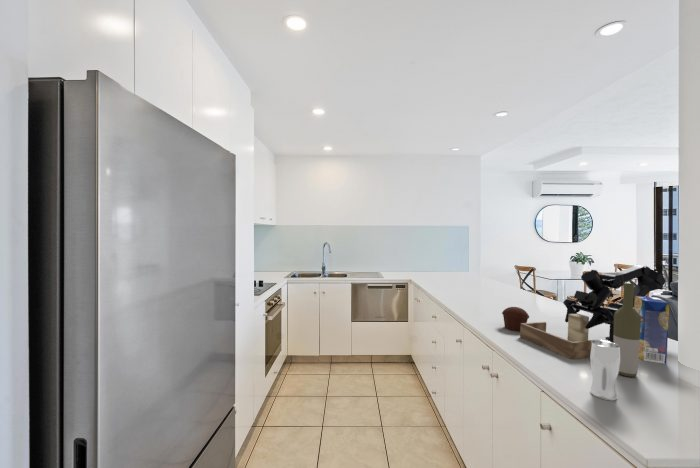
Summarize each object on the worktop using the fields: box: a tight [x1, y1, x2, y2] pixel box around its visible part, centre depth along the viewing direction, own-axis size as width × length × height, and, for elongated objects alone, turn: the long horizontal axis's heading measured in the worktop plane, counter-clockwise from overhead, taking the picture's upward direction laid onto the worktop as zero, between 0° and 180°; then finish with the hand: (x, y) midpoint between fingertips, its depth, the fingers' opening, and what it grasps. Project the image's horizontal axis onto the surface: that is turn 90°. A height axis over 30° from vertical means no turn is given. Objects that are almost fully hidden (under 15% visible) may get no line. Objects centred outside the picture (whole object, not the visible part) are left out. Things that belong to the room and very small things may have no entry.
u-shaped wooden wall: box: [519, 321, 593, 360], centre depth 137 cm, size 13×25×6 cm, turn 16°
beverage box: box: [634, 296, 670, 365], centre depth 127 cm, size 7×11×22 cm, turn 155°
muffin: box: [501, 306, 530, 333], centre depth 159 cm, size 12×11×10 cm
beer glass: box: [589, 339, 620, 402], centre depth 97 cm, size 7×7×15 cm
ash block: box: [567, 313, 590, 342], centre depth 140 cm, size 5×5×12 cm
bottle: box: [612, 282, 641, 378], centre depth 111 cm, size 7×7×30 cm
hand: (575, 324), depth 139 cm, fingers open, 9 cm apart
